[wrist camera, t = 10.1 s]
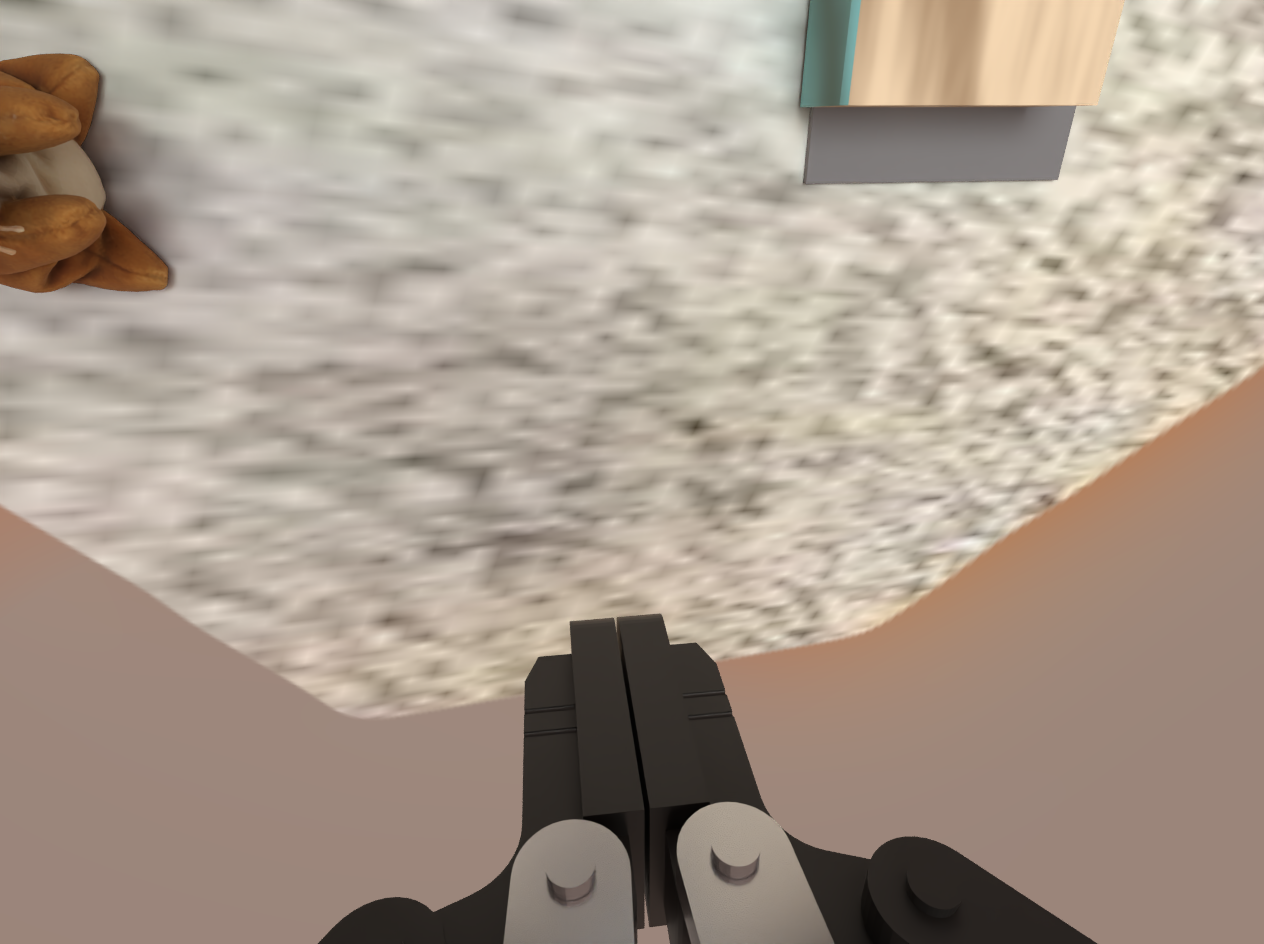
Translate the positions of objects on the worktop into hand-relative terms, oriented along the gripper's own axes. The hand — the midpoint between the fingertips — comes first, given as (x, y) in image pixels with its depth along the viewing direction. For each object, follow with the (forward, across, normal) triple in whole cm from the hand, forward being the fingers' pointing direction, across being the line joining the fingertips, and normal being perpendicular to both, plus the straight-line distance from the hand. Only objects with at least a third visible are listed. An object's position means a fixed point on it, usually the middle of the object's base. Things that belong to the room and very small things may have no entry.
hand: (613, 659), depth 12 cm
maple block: (+26, -12, -11) cm, 31 cm away
